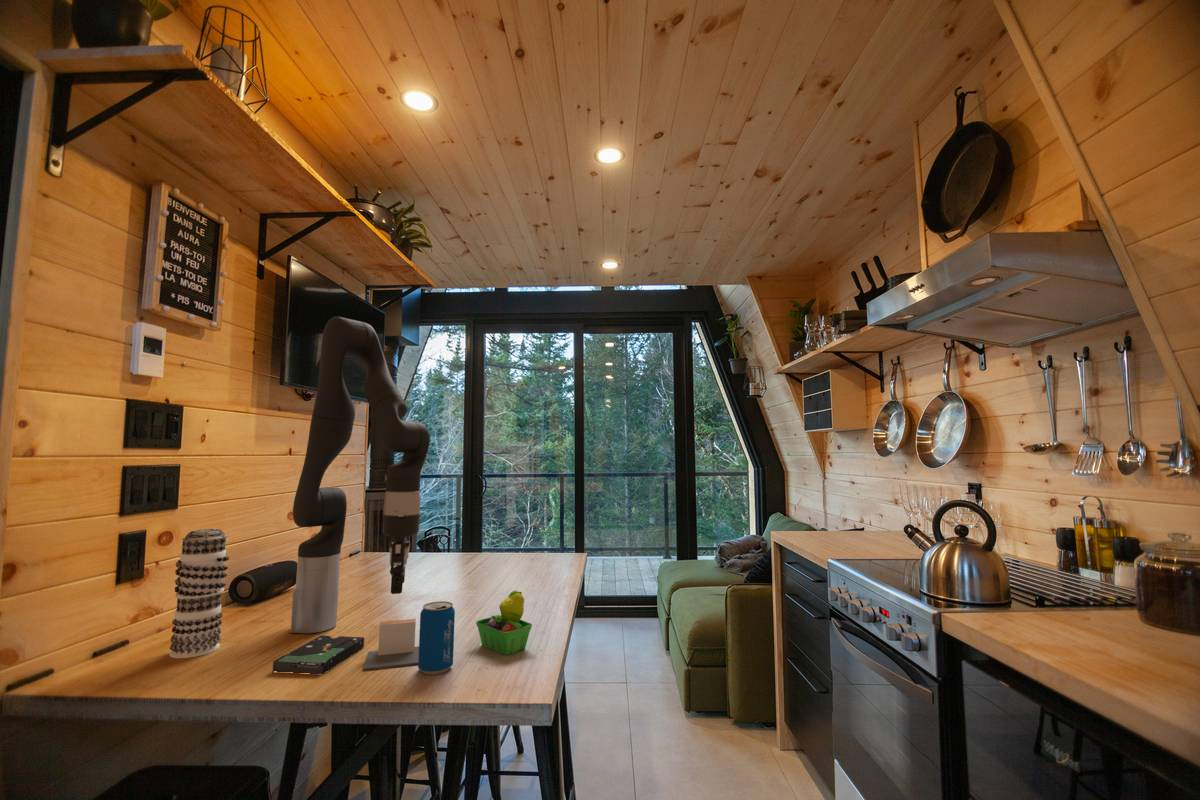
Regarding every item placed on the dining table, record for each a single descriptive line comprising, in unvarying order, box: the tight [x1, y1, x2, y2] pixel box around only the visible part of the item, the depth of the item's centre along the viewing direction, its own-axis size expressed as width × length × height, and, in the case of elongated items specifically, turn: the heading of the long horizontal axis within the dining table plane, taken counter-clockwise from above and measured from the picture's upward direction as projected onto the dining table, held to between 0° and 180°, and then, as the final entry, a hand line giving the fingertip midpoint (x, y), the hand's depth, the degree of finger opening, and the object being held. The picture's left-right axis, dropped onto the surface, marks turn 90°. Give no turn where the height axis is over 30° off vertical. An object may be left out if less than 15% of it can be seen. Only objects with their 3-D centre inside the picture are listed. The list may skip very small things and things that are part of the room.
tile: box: [377, 618, 417, 655], centre depth 109 cm, size 7×2×6 cm, turn 108°
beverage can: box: [417, 600, 456, 676], centre depth 102 cm, size 6×6×12 cm
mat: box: [362, 646, 419, 671], centre depth 106 cm, size 11×9×1 cm
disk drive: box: [272, 635, 365, 675], centre depth 106 cm, size 10×3×15 cm
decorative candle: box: [168, 528, 230, 659], centre depth 111 cm, size 9×9×25 cm
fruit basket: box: [475, 590, 533, 656], centre depth 114 cm, size 11×9×11 cm
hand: (397, 588), depth 112 cm, fingers open, 8 cm apart
